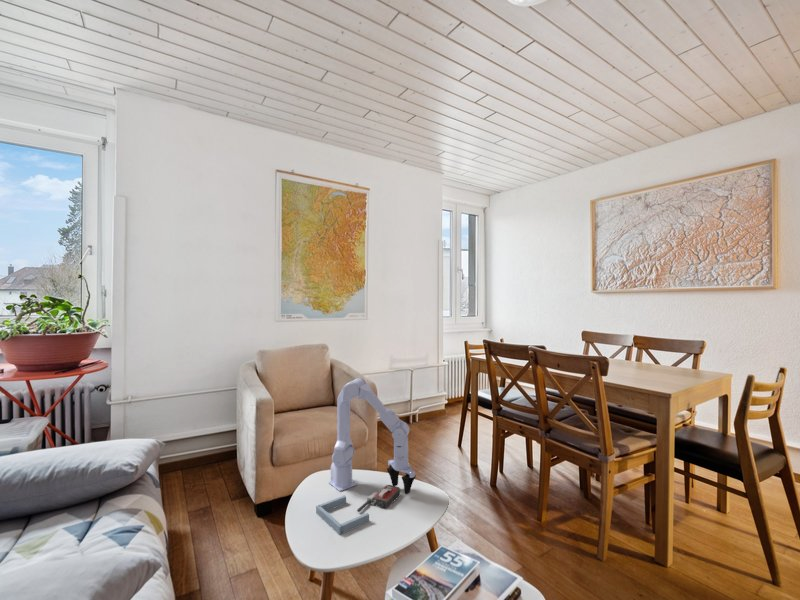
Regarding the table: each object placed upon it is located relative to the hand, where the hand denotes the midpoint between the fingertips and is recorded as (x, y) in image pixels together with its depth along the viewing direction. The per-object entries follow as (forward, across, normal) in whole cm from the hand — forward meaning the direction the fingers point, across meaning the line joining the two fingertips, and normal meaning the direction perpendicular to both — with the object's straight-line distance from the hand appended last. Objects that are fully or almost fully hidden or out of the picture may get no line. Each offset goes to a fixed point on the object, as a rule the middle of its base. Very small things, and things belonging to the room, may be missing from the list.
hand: (401, 489), depth 150 cm
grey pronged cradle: (+1, 0, +26) cm, 26 cm away
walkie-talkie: (+2, -1, +11) cm, 11 cm away
